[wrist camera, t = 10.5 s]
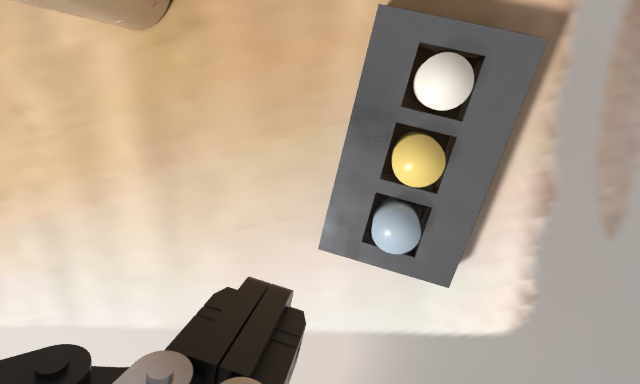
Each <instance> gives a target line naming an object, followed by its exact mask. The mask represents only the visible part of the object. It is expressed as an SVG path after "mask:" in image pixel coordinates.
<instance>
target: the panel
mask: <svg viewBox="0 0 640 384" xmlns="http://www.w3.org/2000/svg"><path fill="white" fill-rule="evenodd" d="M547 41H548V39H547V38H542V37H537V36H532V35H527V34H522V33H517V32H512V31H508V30H503V29H498V28H493V27H488V26H483V25H478V24H474V23H469V22H464V21H459V20H454V19H449V18H444V17H439V16H435V15H430V14H425V13H420V12H415V11H410V10H405V9H400V8H396V7H391V6H386V5H381V4H379V5H378V9H377V13H376V18H375V22H374V26H373V30H372V34H371V38H370V42H369V46H368V50H367V54H366V58H365V62H364V66H363V70H362V74H361V78H360V82H359V86H358V90H357V94H356V98H355V102H354V106H353V110H352V114H351V118H350V122H349V127H348V131H347V135H346V139H345V143H344V147H343V151H342V155H341V159H340V163H339V167H338V171H337V175H336V179H335V183H334V187H333V191H332V195H331V199H330V203H329V207H328V211H327V215H326V219H325V223H324V227H323V231H322V236H321V240H320V244H319V248H318V249H320V250H323V251H326V252H330V253H333V254H337V255H340V256H343V257H347V258H350V259H353V260H357V261H360V262H363V263H367V264H370V265H373V266H377V267H380V268H383V269H387V270H390V271H393V272H397V273H400V274H403V275H407V276H410V277H413V278H417V279H420V280H423V281H427V282H430V283H434V284H437V285H440V286H444V287H447V288H449V286H450V284H451V281H452V279H453V276H454V274H455V271H456V269H457V266H458V264H459V261H460V259H461V256H462V254H463V251H464V249H465V246H466V244H467V241H468V239H469V236H470V234H471V231H472V229H473V226H474V224H475V221H476V219H477V216H478V214H479V211H480V209H481V206H482V204H483V201H484V199H485V196H486V194H487V191H488V189H489V186H490V184H491V181H492V179H493V176H494V174H495V171H496V169H497V166H498V164H499V161H500V159H501V156H502V154H503V151H504V149H505V146H506V144H507V141H508V139H509V136H510V134H511V131H512V129H513V126H514V124H515V121H516V119H517V116H518V114H519V111H520V109H521V106H522V104H523V101H524V99H525V96H526V94H527V91H528V89H529V86H530V84H531V81H532V79H533V76H534V74H535V71H536V69H537V66H538V64H539V61H540V59H541V56H542V54H543V51H544V49H545V46H546V44H547ZM418 47H423V48H428V49H432V50H437V51H441V52H452V53H456V54H459V55H461V56H464V57H469V58H474V59H477V61H476V64H475V67H474V70H473V73H474V84H473V88H472V91H471V93H470V94H469V96H468V97H467V99H466V100H465V101H464V102H463V103H462V105H461V108H460V110H459V113H458V116H457V119H453V118H449V117H444V116H440V115H436V114H432V113H428V112H424V111H419V110H415V109H411V108H407V107H403V106H401V104H402V101H403V97H404V94H405V90H406V87H407V83H408V80H409V77H410V73H411V70H412V66H413V63H414V59H415V56H416V52H417V49H418ZM396 122H397V123H401V124H406V125H410V126H414V127H418V128H422V129H426V130H430V131H434V132H438V133H442V134H446V135H450V136H451V137H450V139H449V142H448V145H447V148H446V151H445V159H446V163H445V168H444V171H443V173H442V175H441V176H440V177H439V178H438V179H437V180H436V181H435V183H434V186H431V185H428V186H425V187H411V186H408V185H406V184H404V183H402V182H401V181H400V180H399V179H398V178H397V177H396V176H393V175H389V174H385V173H382V169H383V166H384V163H385V159H386V156H387V152H388V149H389V145H390V142H391V138H392V135H393V132H394V128H395V125H396ZM376 192H377V193H381V194H384V195H388V196H392V197H395V198H399V199H403V200H406V201H410V202H414V203H417V204H421V205H425V206H426V209H425V212H424V215H423V218H422V221H421V224H420V229H421V236H420V240H419V242H418V243H417V245H416V246H415V247H414V248H413V249H412V250H410V251H408V252H406V253H403V254H391V253H387V252H385V251H383V250H382V249H380V248H379V247H378V246H377V245H376V244H375V242H374V240H373V237H372V233H368V232H365V228H366V225H367V221H368V218H369V214H370V211H371V207H372V204H373V200H374V197H375V194H376Z"/></svg>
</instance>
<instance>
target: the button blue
mask: <svg viewBox="0 0 640 384" xmlns="http://www.w3.org/2000/svg"><path fill="white" fill-rule="evenodd" d="M420 236H421V229H420V224H419V219H418V215H417V211H416V208H415V207H414V205H413V204H412V203H411V202H410V201H406V200H403V199H399V198H395V197H389V198H386V199H384V200H382V201H381V202H380V203H379V204H378V205H377V207H376V208H375V211H374V216H373V223H372V237H373V240H374V242H375V244H376V245H377V246H378V247H379V248H380V249H382V250H383V251H385V252H387V253H391V254H403V253H406V252H408V251H410V250H412V249H413V248H414V247H415V246H416V245H417V243H418V242H419V240H420Z"/></svg>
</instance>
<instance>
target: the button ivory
mask: <svg viewBox="0 0 640 384" xmlns="http://www.w3.org/2000/svg"><path fill="white" fill-rule="evenodd" d="M473 84H474V73H473V69H472V67H471V65H470V63H469V62H468V61H467V60H466V59H465V58H464V57H462V56H461V55H459V54H456V53H452V52H444V53H439V54H436V55H434V56H432V57H431V58H429V59H428V60H427V61H426V62H424V63H423V64H422V65H421V66H420V67H419V68H418V70H417V71H416V73H415V76H414V79H413V92H414V95H415V97H416V98H417V100H418V101H419V102H420V103H421V104H423V105H424V106H427V107H429V108H431V109H434V110H442V111H443V110H450V109H453V108H455V107H457V106H459V105H460V104H462V103H463V102H464V101H465V100H466V99H467V97H468V96H469V94H470V93H471V91H472V88H473Z"/></svg>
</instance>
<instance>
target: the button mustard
mask: <svg viewBox="0 0 640 384" xmlns="http://www.w3.org/2000/svg"><path fill="white" fill-rule="evenodd" d="M445 163H446V159H445V154H444V151H443V149H442V148H441V146H440V145H439V144H438V143H437V142H436V141H435V140H434V139H433V138H432V137H431V136H430V135H428V134H426V133H424V132H419V131H414V132H409V133H406V134H404V135H403V136H401V137H400V138H399V139H398V140H397V141H396V143H395V145H394V147H393V150H392V167H393V171H394V173H395V175H396V177H397V178H398V179H399V180H400V181H401V182H402V183H404V184H406V185H408V186H411V187H425V186H428V185H430V184H432V183H434V182H435V181H436V180H437V179H438V178H439V177H440V176H441V175H442V173H443V171H444V168H445Z"/></svg>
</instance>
